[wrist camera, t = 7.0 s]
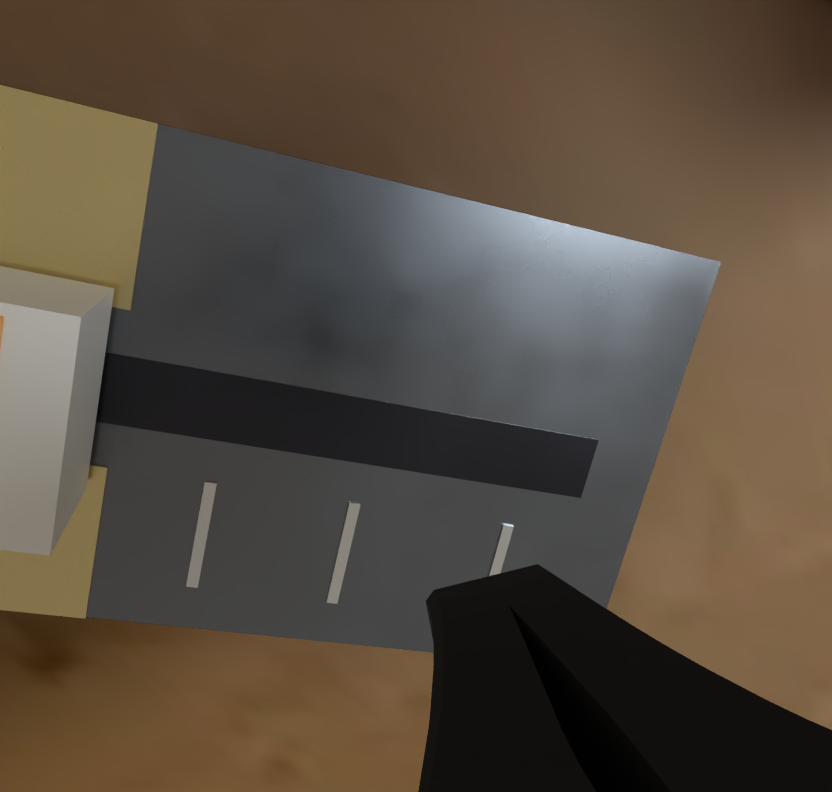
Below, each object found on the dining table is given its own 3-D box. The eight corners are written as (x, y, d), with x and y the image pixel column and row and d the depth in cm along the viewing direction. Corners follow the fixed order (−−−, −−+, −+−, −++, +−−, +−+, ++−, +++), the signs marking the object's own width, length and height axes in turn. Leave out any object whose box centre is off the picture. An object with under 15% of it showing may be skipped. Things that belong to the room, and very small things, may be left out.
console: (675, 251, 18) (722, 262, 17) (558, 621, 21) (587, 669, 19) (-262, 21, 14) (-347, -1, 12) (-271, 525, 16) (-342, 575, 15)
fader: (114, 288, 14) (79, 317, 12) (86, 489, 15) (49, 558, 13) (-30, 260, 14) (-100, 284, 11) (-50, 470, 15) (-118, 539, 12)
